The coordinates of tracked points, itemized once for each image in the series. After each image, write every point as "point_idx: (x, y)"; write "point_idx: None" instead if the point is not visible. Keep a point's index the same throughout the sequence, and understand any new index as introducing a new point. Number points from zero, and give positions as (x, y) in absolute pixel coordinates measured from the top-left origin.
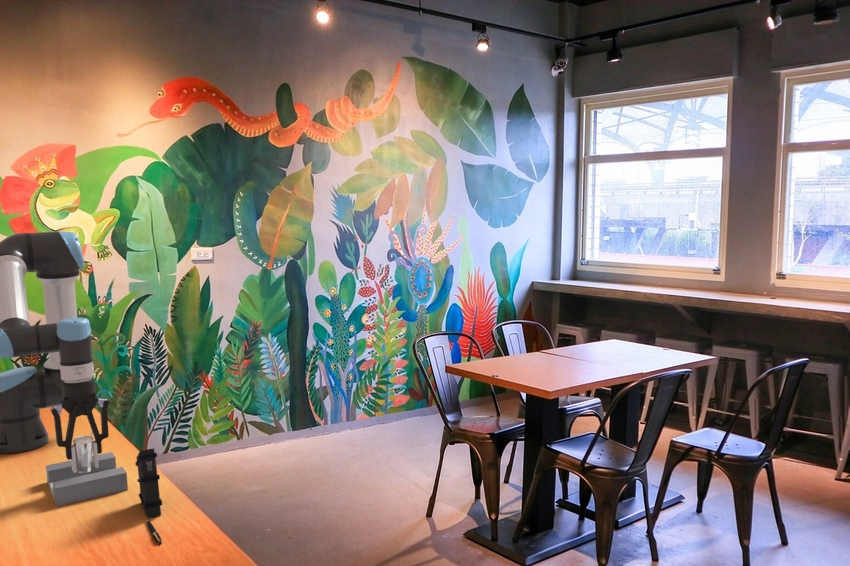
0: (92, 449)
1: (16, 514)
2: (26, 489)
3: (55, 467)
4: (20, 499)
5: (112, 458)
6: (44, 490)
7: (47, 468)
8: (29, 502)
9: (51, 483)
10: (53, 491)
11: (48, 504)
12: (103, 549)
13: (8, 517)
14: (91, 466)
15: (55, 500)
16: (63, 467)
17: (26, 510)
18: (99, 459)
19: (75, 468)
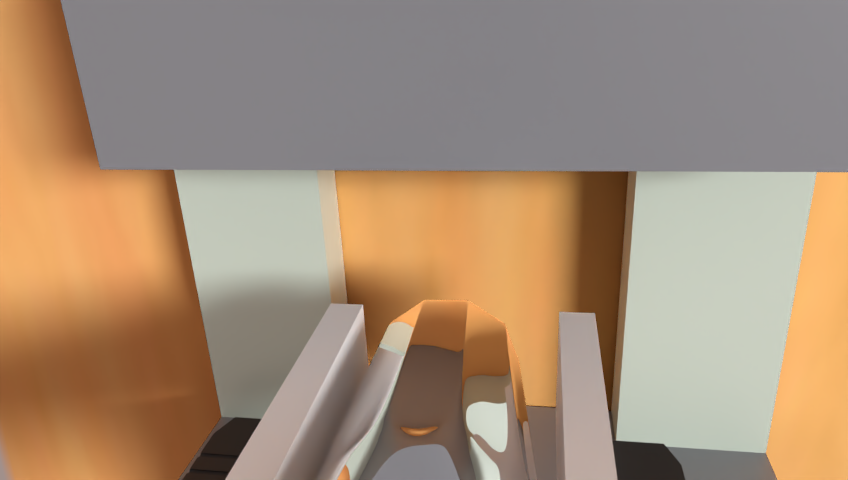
0: (563, 442)
1: (47, 461)
2: (11, 19)
3: (162, 87)
4: (15, 228)
5: (837, 167)
6: None
7: (80, 65)
8: (87, 326)
9: (189, 177)
10: (217, 370)
11: None
12: None
13: (13, 473)
14: (521, 382)
15: None
16: (248, 152)
17: (92, 442)
18: (674, 130)
19: None
